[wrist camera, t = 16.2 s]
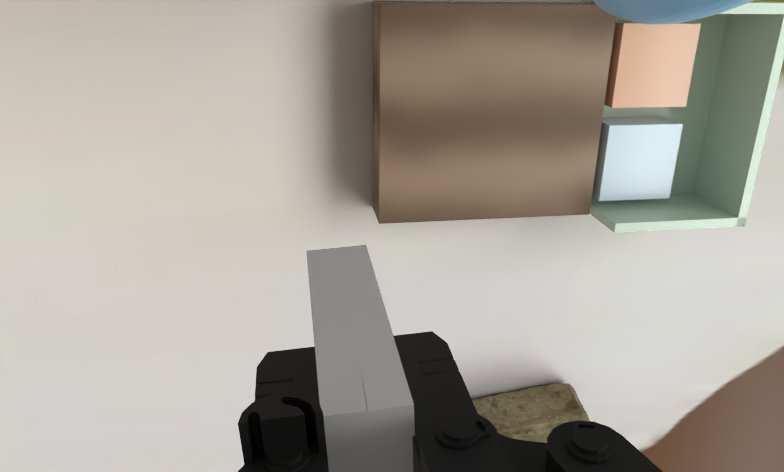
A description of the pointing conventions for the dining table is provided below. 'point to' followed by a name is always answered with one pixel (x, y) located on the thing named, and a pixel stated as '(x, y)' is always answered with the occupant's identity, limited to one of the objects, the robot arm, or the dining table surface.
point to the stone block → (531, 411)
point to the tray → (713, 125)
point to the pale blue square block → (636, 158)
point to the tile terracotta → (651, 64)
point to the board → (487, 108)
